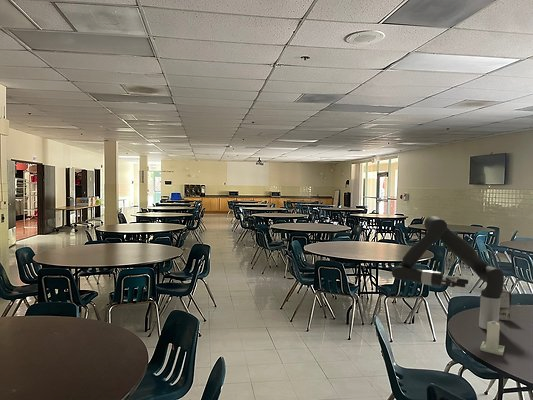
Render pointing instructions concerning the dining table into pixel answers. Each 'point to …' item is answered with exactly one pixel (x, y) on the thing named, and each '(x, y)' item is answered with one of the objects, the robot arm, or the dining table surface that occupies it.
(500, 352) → the tray
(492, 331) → the battery cell
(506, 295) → the coffee box
